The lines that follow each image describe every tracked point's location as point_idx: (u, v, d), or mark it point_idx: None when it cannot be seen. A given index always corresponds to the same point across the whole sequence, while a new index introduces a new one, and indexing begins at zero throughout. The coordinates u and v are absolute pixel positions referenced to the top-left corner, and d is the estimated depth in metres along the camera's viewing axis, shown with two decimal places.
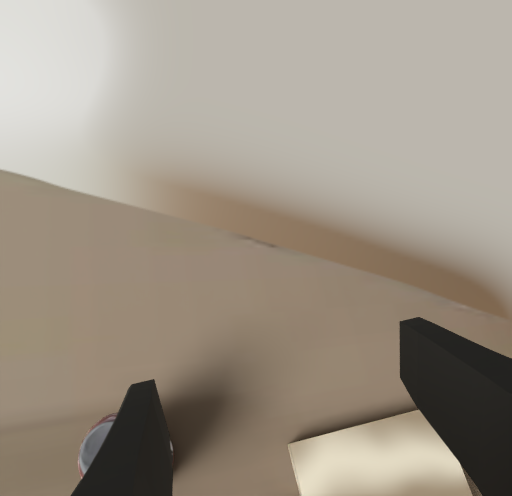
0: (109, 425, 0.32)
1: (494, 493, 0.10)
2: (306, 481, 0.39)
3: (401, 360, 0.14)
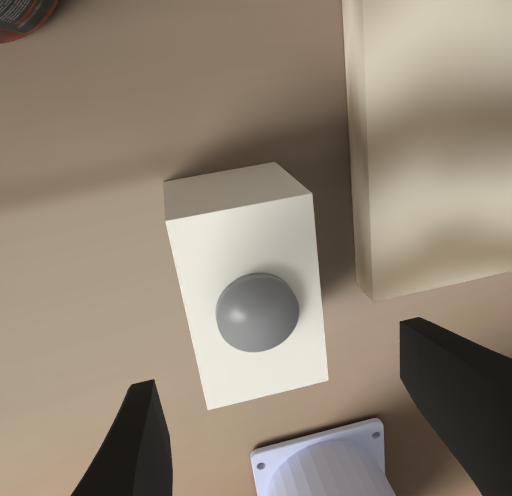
0: None
1: (494, 493, 0.10)
2: (379, 56, 0.18)
3: (401, 360, 0.14)
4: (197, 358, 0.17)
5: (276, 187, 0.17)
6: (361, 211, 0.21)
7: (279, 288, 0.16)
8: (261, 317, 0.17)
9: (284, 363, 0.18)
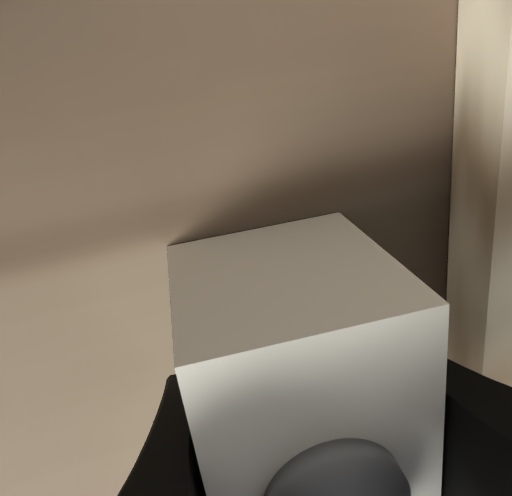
0: None
1: None
2: None
3: None
4: None
5: (367, 278, 0.10)
6: (467, 285, 0.14)
7: (380, 470, 0.09)
8: None
9: None
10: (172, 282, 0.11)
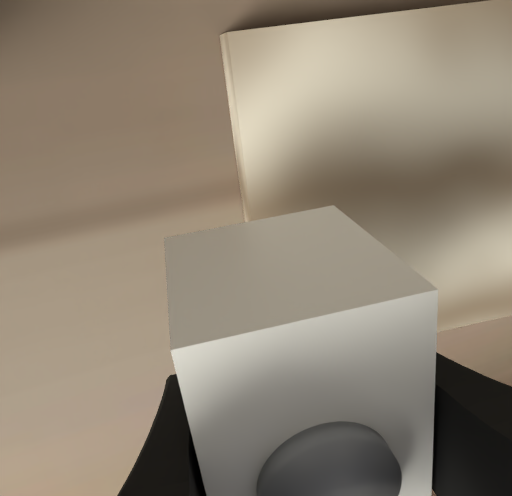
0: None
1: None
2: (256, 126, 0.17)
3: None
4: None
5: (359, 265, 0.10)
6: None
7: (371, 452, 0.09)
8: None
9: None
10: (169, 271, 0.11)
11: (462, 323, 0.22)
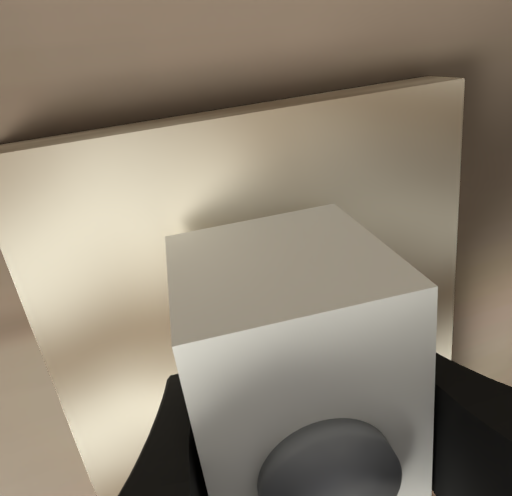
0: None
1: None
2: (31, 265, 0.13)
3: None
4: None
5: (359, 263, 0.10)
6: None
7: (372, 448, 0.09)
8: (338, 494, 0.09)
9: None
10: (170, 269, 0.11)
11: None
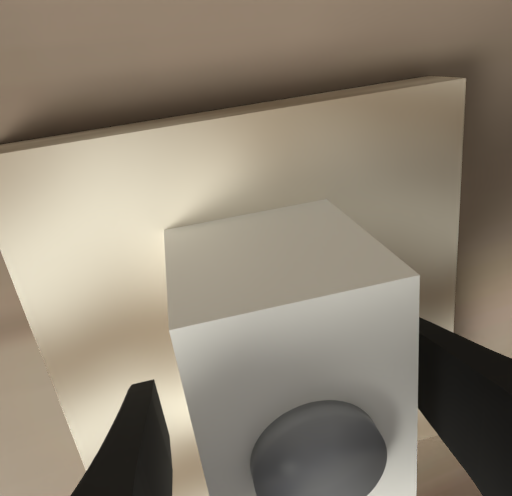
0: None
1: (494, 493, 0.10)
2: (30, 266, 0.13)
3: None
4: None
5: (347, 254, 0.10)
6: None
7: (358, 428, 0.10)
8: (326, 472, 0.10)
9: None
10: (168, 260, 0.11)
11: None
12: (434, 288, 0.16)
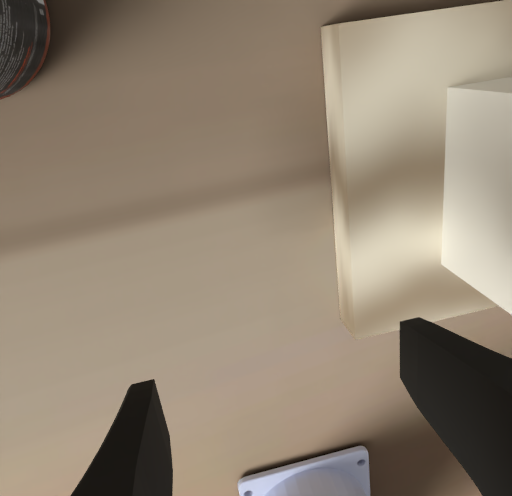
0: None
1: (494, 493, 0.10)
2: (357, 110, 0.18)
3: (401, 360, 0.14)
4: None
5: None
6: (343, 253, 0.22)
7: None
8: None
9: None
10: (486, 90, 0.17)
11: None
12: None
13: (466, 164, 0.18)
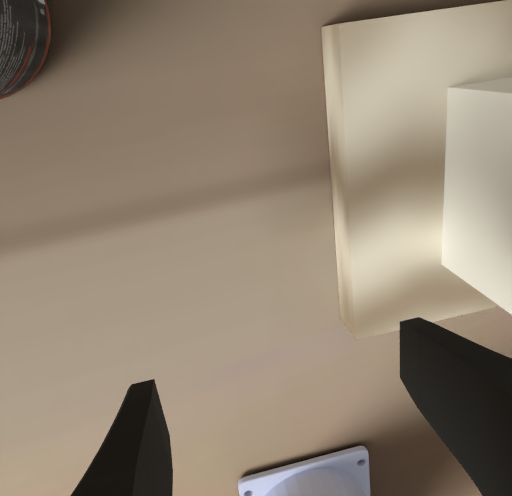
0: None
1: (494, 493, 0.10)
2: (358, 110, 0.18)
3: (401, 360, 0.14)
4: None
5: None
6: (343, 253, 0.22)
7: None
8: None
9: None
10: (486, 90, 0.17)
11: None
12: None
13: (466, 164, 0.18)
